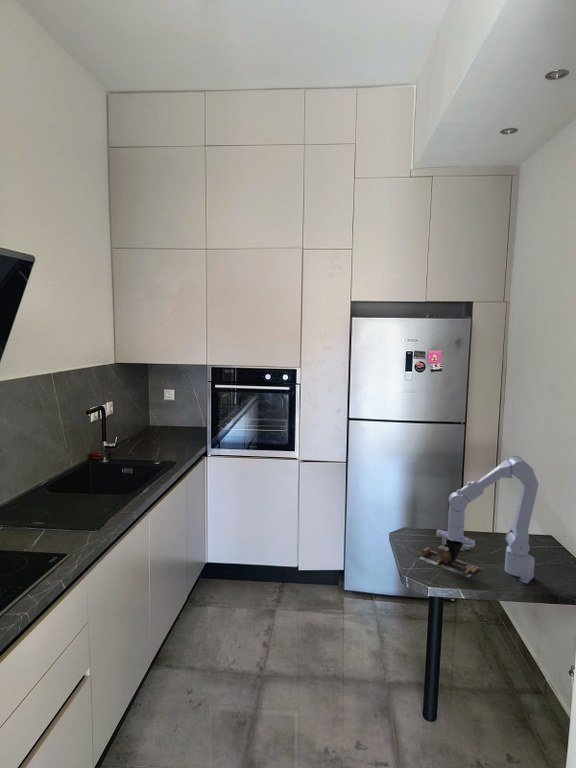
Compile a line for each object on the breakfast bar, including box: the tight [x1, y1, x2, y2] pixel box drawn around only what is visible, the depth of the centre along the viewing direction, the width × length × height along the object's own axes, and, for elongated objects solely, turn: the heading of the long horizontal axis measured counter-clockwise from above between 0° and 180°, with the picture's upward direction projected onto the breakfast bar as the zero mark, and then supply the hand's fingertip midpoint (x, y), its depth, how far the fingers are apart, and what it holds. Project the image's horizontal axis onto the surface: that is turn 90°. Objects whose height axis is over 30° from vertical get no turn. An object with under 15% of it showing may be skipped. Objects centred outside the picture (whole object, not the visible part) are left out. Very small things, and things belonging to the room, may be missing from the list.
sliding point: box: [436, 544, 451, 564], centre depth 185 cm, size 4×6×5 cm, turn 136°
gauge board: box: [418, 546, 480, 578], centre depth 184 cm, size 22×10×4 cm, turn 46°
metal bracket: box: [441, 537, 471, 552], centre depth 201 cm, size 14×6×15 cm
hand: (453, 559), depth 184 cm, fingers closed
